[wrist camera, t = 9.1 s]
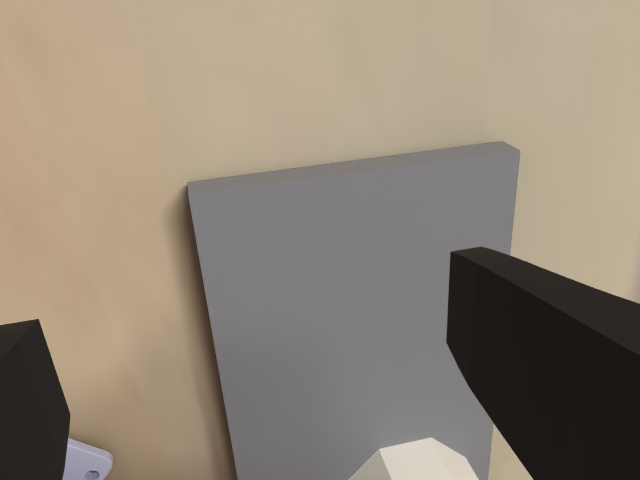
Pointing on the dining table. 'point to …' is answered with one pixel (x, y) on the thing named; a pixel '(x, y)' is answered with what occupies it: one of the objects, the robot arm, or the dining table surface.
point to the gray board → (347, 305)
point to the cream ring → (416, 463)
